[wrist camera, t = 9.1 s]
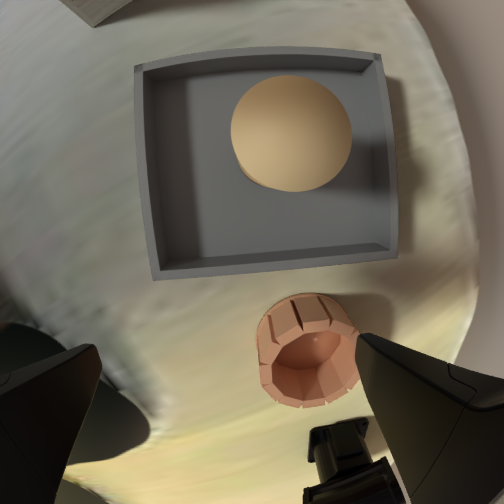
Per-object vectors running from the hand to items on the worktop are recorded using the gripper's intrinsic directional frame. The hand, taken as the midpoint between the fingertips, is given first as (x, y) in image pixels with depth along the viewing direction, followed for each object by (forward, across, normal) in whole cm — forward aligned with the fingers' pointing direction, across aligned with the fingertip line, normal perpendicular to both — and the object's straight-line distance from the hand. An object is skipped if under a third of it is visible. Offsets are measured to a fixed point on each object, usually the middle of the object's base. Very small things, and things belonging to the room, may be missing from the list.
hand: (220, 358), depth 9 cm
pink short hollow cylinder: (+13, -5, +7) cm, 15 cm away
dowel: (+11, -3, -7) cm, 14 cm away
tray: (+12, -3, -7) cm, 15 cm away
